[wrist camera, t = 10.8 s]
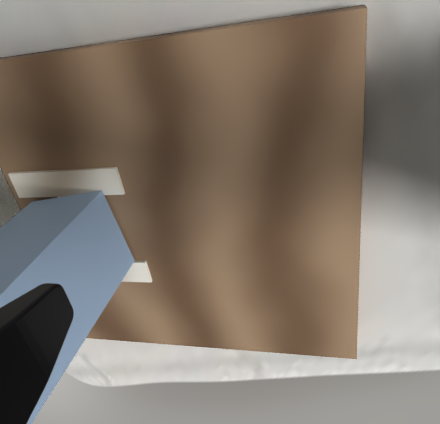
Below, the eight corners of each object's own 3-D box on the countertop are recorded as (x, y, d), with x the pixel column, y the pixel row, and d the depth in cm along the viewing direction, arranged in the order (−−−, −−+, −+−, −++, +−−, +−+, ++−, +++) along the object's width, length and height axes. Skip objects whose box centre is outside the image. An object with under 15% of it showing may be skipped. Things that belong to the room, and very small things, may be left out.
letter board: (364, 5, 16) (367, 8, 15) (355, 343, 26) (356, 361, 25) (-30, 62, 21) (-50, 68, 20) (88, 325, 31) (79, 339, 30)
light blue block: (102, 190, 22) (-107, 405, 11) (134, 260, 24) (-13, 494, 14) (31, 201, 24) (-209, 399, 13) (68, 266, 26) (-109, 479, 15)
